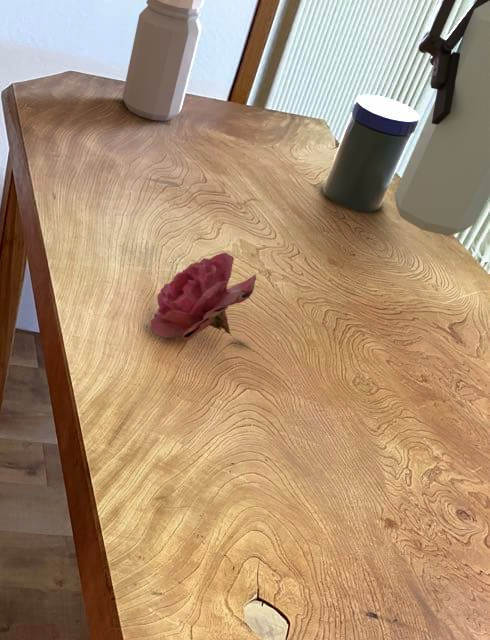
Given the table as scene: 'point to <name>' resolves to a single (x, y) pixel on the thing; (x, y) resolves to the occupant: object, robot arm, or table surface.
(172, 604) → the table surface
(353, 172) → the spice jar
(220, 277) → the flower
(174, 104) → the jar
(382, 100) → the lid
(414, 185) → the water bottle
